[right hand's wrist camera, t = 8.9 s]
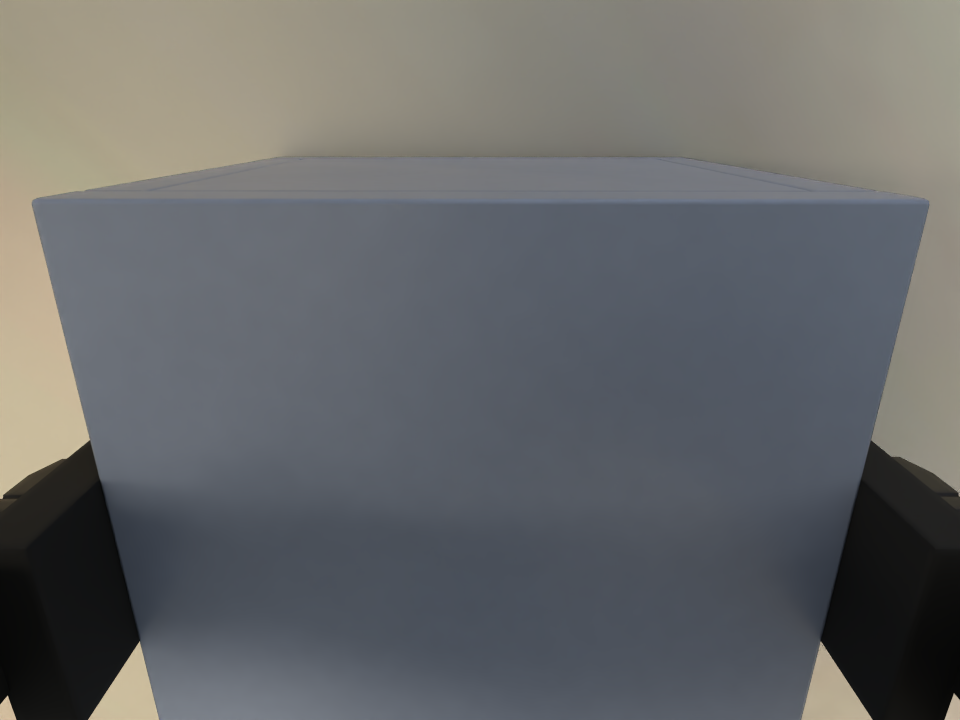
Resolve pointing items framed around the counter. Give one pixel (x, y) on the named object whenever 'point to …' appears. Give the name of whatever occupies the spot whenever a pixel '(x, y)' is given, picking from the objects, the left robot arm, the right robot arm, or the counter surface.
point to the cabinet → (480, 428)
